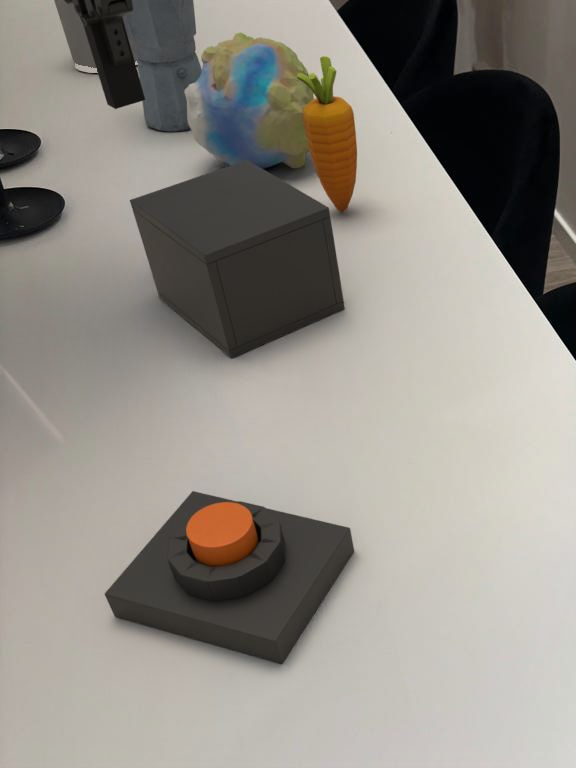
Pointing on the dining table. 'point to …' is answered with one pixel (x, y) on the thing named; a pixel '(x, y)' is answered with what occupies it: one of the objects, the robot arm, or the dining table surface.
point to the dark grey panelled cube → (240, 255)
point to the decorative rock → (250, 103)
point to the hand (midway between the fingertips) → (126, 102)
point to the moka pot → (164, 58)
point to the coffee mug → (78, 35)
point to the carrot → (331, 136)
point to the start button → (222, 534)
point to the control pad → (235, 582)
